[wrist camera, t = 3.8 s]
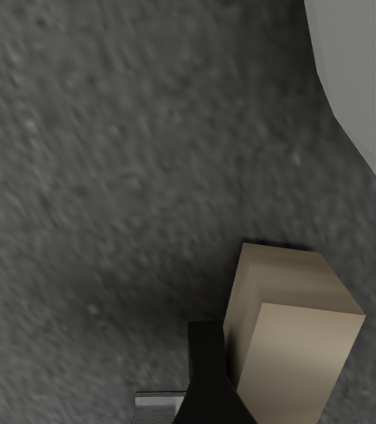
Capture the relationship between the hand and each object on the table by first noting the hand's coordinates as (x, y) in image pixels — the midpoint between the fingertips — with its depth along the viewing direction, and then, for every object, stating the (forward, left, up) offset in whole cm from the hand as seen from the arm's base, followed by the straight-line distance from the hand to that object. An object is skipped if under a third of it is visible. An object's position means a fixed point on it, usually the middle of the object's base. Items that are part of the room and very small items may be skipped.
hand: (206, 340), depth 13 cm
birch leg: (-2, +3, -1) cm, 3 cm away
